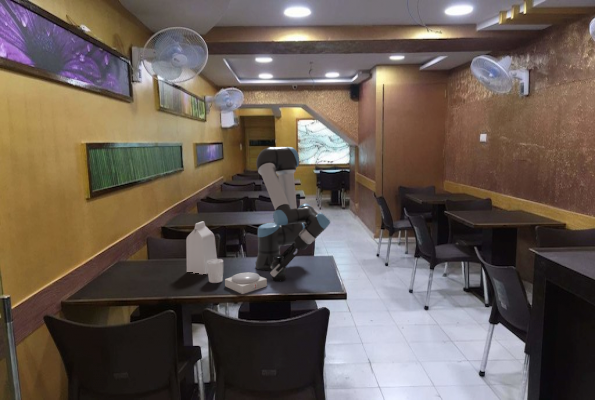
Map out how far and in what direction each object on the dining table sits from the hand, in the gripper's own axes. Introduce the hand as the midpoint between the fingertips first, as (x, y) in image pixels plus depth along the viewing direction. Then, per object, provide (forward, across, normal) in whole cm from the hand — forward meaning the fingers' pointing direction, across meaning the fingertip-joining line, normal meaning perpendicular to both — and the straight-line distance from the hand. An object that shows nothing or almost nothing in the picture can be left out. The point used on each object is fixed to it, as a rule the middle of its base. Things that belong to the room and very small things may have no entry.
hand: (272, 272), depth 200 cm
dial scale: (+11, -8, +6) cm, 15 cm away
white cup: (+23, +1, +17) cm, 28 cm away
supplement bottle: (+1, 0, -5) cm, 5 cm away
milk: (+30, +19, +24) cm, 42 cm away
